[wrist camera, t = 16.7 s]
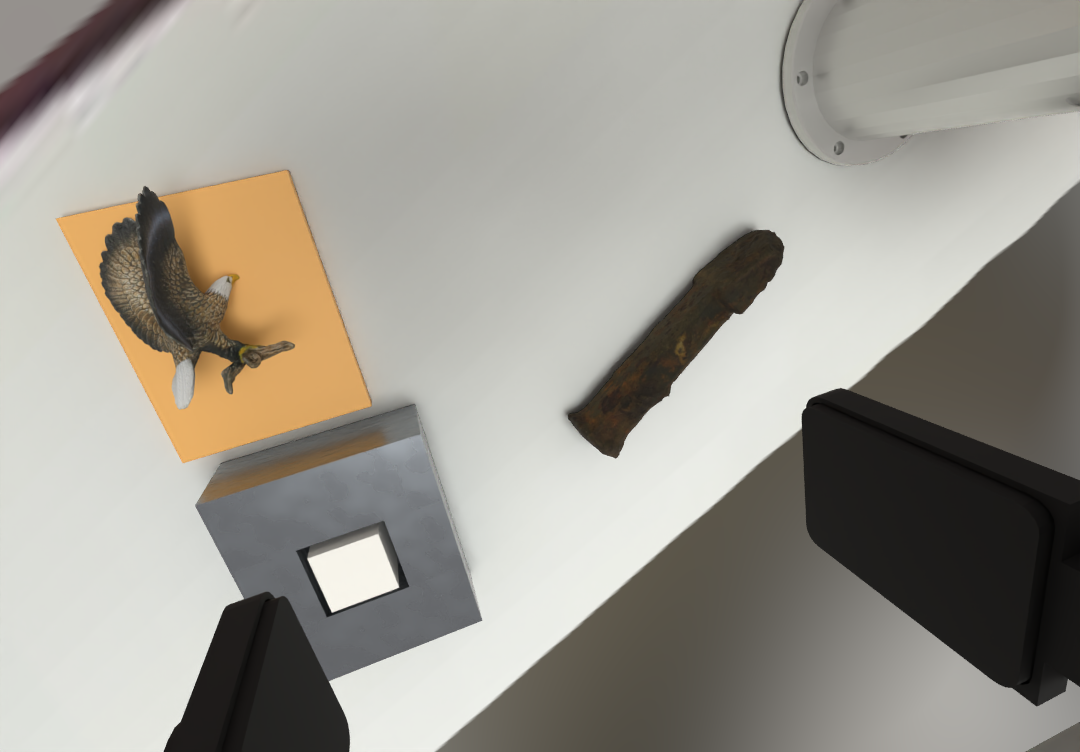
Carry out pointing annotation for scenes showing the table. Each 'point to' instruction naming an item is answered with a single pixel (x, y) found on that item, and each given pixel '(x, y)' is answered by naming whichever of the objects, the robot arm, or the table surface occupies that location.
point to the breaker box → (338, 508)
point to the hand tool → (679, 339)
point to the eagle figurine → (171, 298)
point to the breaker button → (355, 566)
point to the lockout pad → (241, 315)
